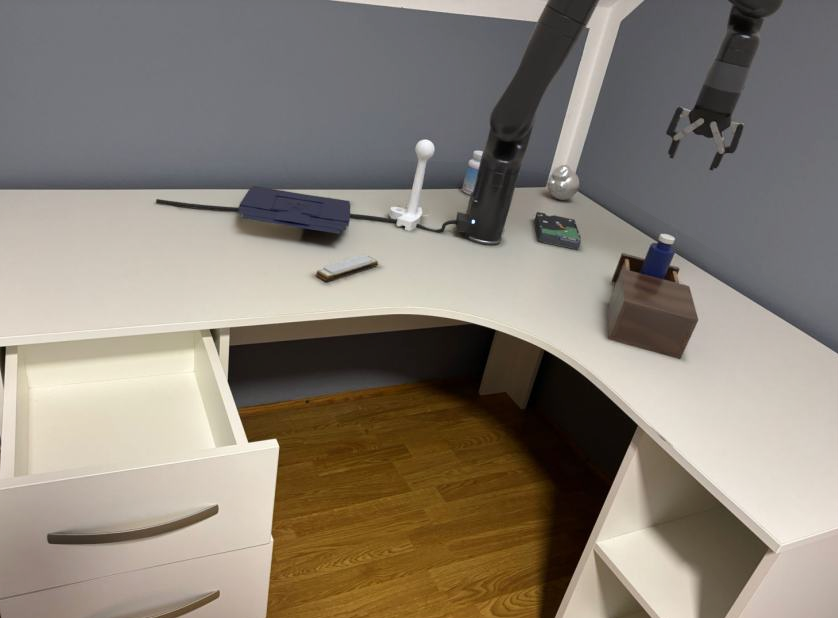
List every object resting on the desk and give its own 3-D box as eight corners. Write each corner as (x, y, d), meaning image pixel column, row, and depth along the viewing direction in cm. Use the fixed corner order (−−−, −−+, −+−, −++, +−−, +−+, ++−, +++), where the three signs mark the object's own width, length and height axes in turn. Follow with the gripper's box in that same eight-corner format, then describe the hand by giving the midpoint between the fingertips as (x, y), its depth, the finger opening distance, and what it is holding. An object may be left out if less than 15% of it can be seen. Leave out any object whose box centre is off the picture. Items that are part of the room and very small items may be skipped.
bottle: (634, 300, 147) (659, 239, 140) (628, 289, 151) (652, 229, 144) (657, 304, 147) (683, 243, 140) (650, 293, 151) (675, 234, 144)
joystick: (414, 232, 164) (431, 148, 154) (383, 224, 165) (398, 140, 155) (423, 217, 173) (440, 136, 163) (394, 209, 174) (409, 129, 164)
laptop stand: (230, 230, 145) (231, 212, 143) (251, 196, 172) (252, 181, 171) (346, 247, 147) (349, 231, 146) (349, 212, 174) (351, 197, 173)
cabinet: (608, 305, 148) (622, 268, 143) (673, 322, 146) (689, 286, 141) (608, 339, 135) (624, 300, 130) (680, 358, 133) (698, 320, 128)
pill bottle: (482, 198, 193) (492, 158, 187) (460, 193, 194) (470, 153, 188) (483, 191, 198) (493, 152, 192) (462, 186, 199) (472, 148, 193)
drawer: (611, 273, 160) (621, 246, 157) (665, 287, 158) (677, 260, 155) (612, 307, 145) (623, 278, 141) (673, 323, 143) (686, 294, 139)
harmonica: (326, 283, 135) (327, 273, 134) (315, 276, 136) (317, 267, 135) (377, 266, 145) (379, 258, 144) (367, 260, 146) (368, 252, 145)
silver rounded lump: (538, 191, 207) (547, 158, 202) (567, 195, 208) (578, 162, 203) (547, 202, 199) (557, 168, 194) (578, 206, 201) (589, 172, 196)
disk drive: (532, 221, 184) (537, 242, 172) (535, 211, 183) (541, 231, 170) (571, 229, 184) (579, 250, 172) (574, 219, 183) (583, 239, 170)
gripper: (684, 78, 142) (655, 156, 151) (757, 97, 137) (722, 177, 145) (691, 75, 148) (662, 151, 156) (761, 93, 143) (727, 170, 151)
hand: (691, 163), depth 151 cm, fingers open, 8 cm apart
